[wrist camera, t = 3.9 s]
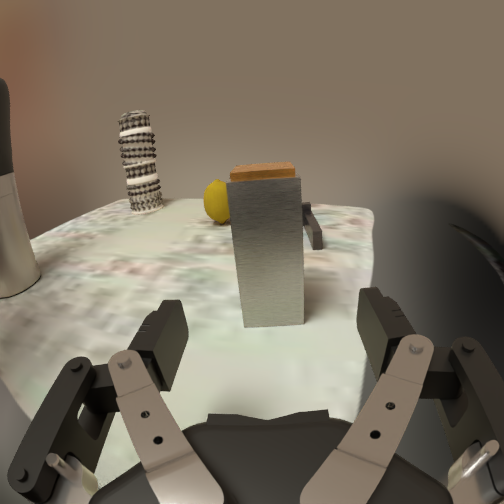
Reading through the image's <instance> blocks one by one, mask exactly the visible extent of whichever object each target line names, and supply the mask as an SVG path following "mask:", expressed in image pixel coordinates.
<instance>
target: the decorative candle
mask: <svg viewBox="0 0 504 504" xmlns="http://www.w3.org/2000/svg"><path fill="white" fill-rule="evenodd" d="M149 116H150V115H148V114H147V113H146V112H145V111H143V110H138V111H132V112H128V113H125V114H124V115H122V116H121V119H120V120H119V121H118V122H119V125H120V140H119V141H118V142H119V143H120V144H122V145H123V146H122V147H121V148H120V151H122V152H123V153H122V154H121V157H122V158H124V159H125V161H124V162H123V163H122V164H123V165H124V166H123V167H124V168H126V175H127V184H128V186H127V189H128V190H130V191H129V192H128V195H129V196H131V198H130V199H129V202H130V203H131V206H130V208H131V209H132V214H134V215H140V214H146V213H151V212H154V211H157V210H159V209H162V208H163V204H161V203H162V202H163V199H162V198H161V196H162V193H161V192H160V191H158V190H159V189H160V188H161V187H160V186H159V185H158V183H159V182H160V180H159V179H157V178H158V177H157V172H156V168H155V161H156V159H154V158H155V157H156V154H153V152H154V151H155V150H156V149H155V148H154V147H152V145H153V144H154V143H155V140H153V139H152V138H153V137H154V136H155V135H154V134H153V133H151V127H150V122H149Z"/></svg>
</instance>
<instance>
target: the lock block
mask: <svg viewBox="0 0 504 504" xmlns="http://www.w3.org/2000/svg"><path fill="white" fill-rule="evenodd" d="M226 189H227V197H228V206H229V214H230V222H231V230H232V239H233V247H234V255H235V262H236V270H237V278H238V285H239V293H240V301H241V308H242V315H243V323H244V328H247V327H268V326H285V325H300V324H304V257H303V222H302V199H301V179H300V176H299V175H298V173H297V172H296V171H295V168H294V166H293V165H292V164H291V163H290V162H277V163H263V164H251V165H239V166H236V167H235V168H234V169H233V170H232V171H231V172H230V178H229V180H228V181H227V182H226Z"/></svg>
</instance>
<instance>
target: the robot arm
mask: <svg viewBox="0 0 504 504" xmlns="http://www.w3.org/2000/svg"><path fill="white" fill-rule="evenodd" d="M39 277H40V271H39V268H38V264H37V261H36V259H35V256H34V253H33V250H32V246H31V243H30V240H29V237H28V233H27V230H26V226H25V222H24V218H23V214H22V210H21V205H20V201H19V196H18V192H17V187H16V182H15V176H14V171H13V163H12V148H11V138H10V99H9V91H8V87H7V84H6V83H5V81H4V80H3V79H1V78H0V298H2V297H9V296H12V295H15V294H17V293H20V292H22V291H23V290H25V289H27V288H28V287H30V286H31V285H33V284H34V283H35V282H36V281H37V280H38V279H39ZM357 329H358V332H359V335H360V337H361V340H362V342H363V345H364V348H365V350H366V353H367V356H368V358H369V361H370V364H371V367H372V369H373V372H374V375H375V378H376V381H377V384H376V386H375V388H374V389H373V391H372V393H371V395H370V396H369V398H368V400H367V401H366V404H365V405H364V407H363V408H362V410H361V411H360V413H359V415H358V416H357V418H356V420H355V421H354V423H350V422H348V421H345V420H342V419H337V418H330V417H329V413H328V409H327V410H318V411H308V412H298V413H294V414H290V415H287V416H283V417H279V418H275V419H271V420H263V419H257V418H252V417H247V416H242V415H237V414H208V418H207V422H203V423H199V424H196V425H193V426H190V427H188V428H186V429H184V430H182V431H181V430H180V428H179V426H178V425H177V423H176V421H175V420H174V418H173V416H172V415H171V413H170V411H169V409H168V408H167V406H166V404H165V402H164V401H163V399H162V397H161V395H160V391H168V392H170V390H171V387H172V384H173V381H174V378H175V375H176V373H177V370H178V367H179V364H180V361H181V358H182V355H183V352H184V349H185V347H186V344H187V341H188V326H187V322H186V318H185V314H184V311H183V307H182V303H181V301H180V300H163V301H162V303H161V305H160V307H159V308H158V310H157V311H153V312H151V313H150V314H149V315H148V316H147V317H146V318H145V319H144V321H143V323H142V326H140V328H139V330H138V332H137V333H136V335H135V337H134V338H133V340H132V342H131V344H130V345H129V347H128V349H127V350H123V351H120V352H118V353H116V354H114V355H113V356H112V357H111V358H110V360H109V362H108V364H102V365H95V366H93V365H92V363H91V362H90V360H89V359H88V358H86V357H76V358H73V359H71V360H70V361H68V362H67V363H66V364H65V366H64V367H63V369H62V370H61V372H60V374H59V375H58V377H57V379H56V380H55V382H54V384H53V385H52V387H51V389H50V390H49V392H48V394H47V396H46V397H45V399H44V401H43V402H42V404H41V406H40V408H39V410H38V411H37V413H36V415H35V417H34V419H33V421H32V422H31V424H30V426H29V429H28V430H27V432H26V434H25V436H24V438H23V440H22V442H21V444H20V446H19V448H18V450H17V452H16V454H15V456H14V459H13V461H12V463H11V465H10V468H9V470H8V482H9V484H10V486H11V487H12V488H13V489H14V490H15V491H17V492H18V493H19V494H21V495H22V496H23V497H25V498H26V499H27V500H28V501H29V502H31V503H33V504H500V503H502V502H503V501H504V382H503V380H502V378H501V376H500V375H499V373H498V371H497V370H496V368H495V366H494V365H493V363H492V362H491V360H490V359H489V357H488V355H487V354H486V352H485V351H484V349H483V348H482V346H481V345H480V343H479V342H477V341H476V340H475V339H472V338H470V337H460V338H457V339H456V340H455V341H454V342H453V344H452V347H451V348H449V347H434V346H433V344H432V342H431V341H430V340H429V339H428V338H426V337H424V336H421V335H417V334H416V332H415V331H414V329H413V328H412V326H411V325H410V323H409V321H408V320H407V318H406V316H405V315H404V313H403V312H402V311H401V309H400V307H399V306H398V304H397V302H395V301H394V300H393V299H391V298H389V297H383V296H382V294H381V293H380V291H379V289H378V288H377V287H370V288H361V289H360V292H359V300H358V310H357ZM418 398H421V399H433V400H434V403H435V406H436V408H437V411H438V414H439V417H440V419H441V422H442V425H443V428H444V431H445V434H446V437H447V440H448V443H449V446H450V449H451V453H452V456H453V459H454V463H453V465H452V466H451V468H450V470H449V473H448V487H447V488H446V487H445V486H444V485H443V484H442V483H440V482H439V481H437V480H436V479H434V478H432V477H431V476H429V475H428V474H426V473H425V472H423V471H421V470H420V469H418V468H417V467H415V466H414V465H412V464H411V463H409V462H408V461H406V460H405V459H403V458H402V457H400V456H399V455H398V454H396V453H395V450H396V449H397V447H398V444H399V443H400V440H401V438H402V436H403V434H404V432H405V430H406V427H407V425H408V423H409V420H410V418H411V416H412V413H413V411H414V408H415V406H416V403H417V400H418ZM82 403H83V404H84V405H85V406H84V408H83V410H82V412H81V414H80V417H79V419H78V418H77V415H78V411H79V409H80V407H81V405H82ZM116 412H121V415H122V418H123V420H124V423H125V425H126V428H127V430H128V433H129V435H130V438H131V440H132V442H133V445H134V447H135V449H136V452H137V454H138V456H139V458H140V460H141V461H140V462H139V463H138V464H136V465H135V466H133V467H132V468H131V469H129V470H128V471H126V472H125V473H123V474H122V475H120V476H119V477H117V478H116V479H114V480H113V481H111V482H110V483H108V484H107V485H105V486H104V487H102V488H101V489H99V490H98V489H97V488H98V482H97V479H96V477H95V475H94V473H95V469H96V466H97V463H98V460H99V457H100V454H101V452H102V449H103V446H104V443H105V440H106V437H107V434H108V432H109V429H110V426H111V423H112V421H113V418H114V415H115V413H116Z"/></svg>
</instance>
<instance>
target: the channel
mask: <svg viewBox="0 0 504 504" xmlns="http://www.w3.org/2000/svg"><path fill="white" fill-rule="evenodd" d="M302 222H303V226H304V227H305V229H306V232H307V235H308V238H309V240H310V243H311V246H312V248H313V250H319V249H322V230H321V228H320V226H319V224H318V222H317V221H316V219H315V217H314V215H313V213H312V211H311V204H310V202H305V203H302Z"/></svg>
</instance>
